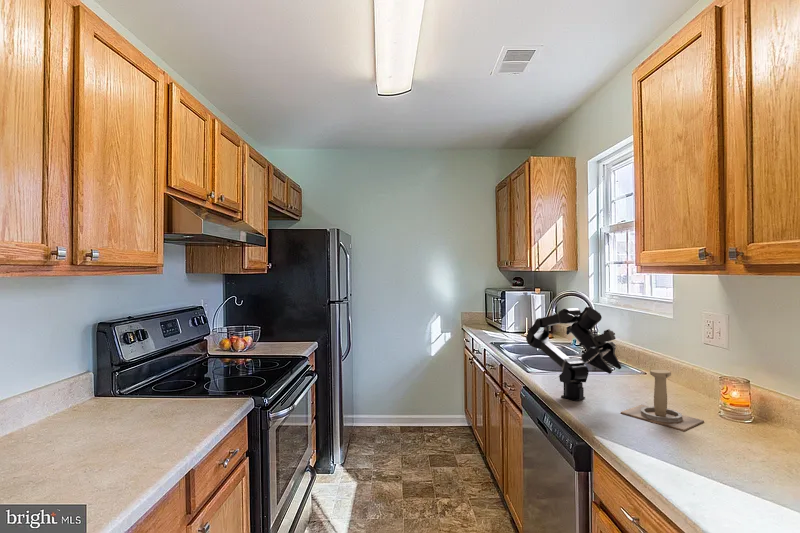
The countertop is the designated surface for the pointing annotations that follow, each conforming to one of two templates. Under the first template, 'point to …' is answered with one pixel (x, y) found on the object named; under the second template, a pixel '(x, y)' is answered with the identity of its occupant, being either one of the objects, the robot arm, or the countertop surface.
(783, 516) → the countertop surface
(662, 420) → the socket board
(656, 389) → the handle
